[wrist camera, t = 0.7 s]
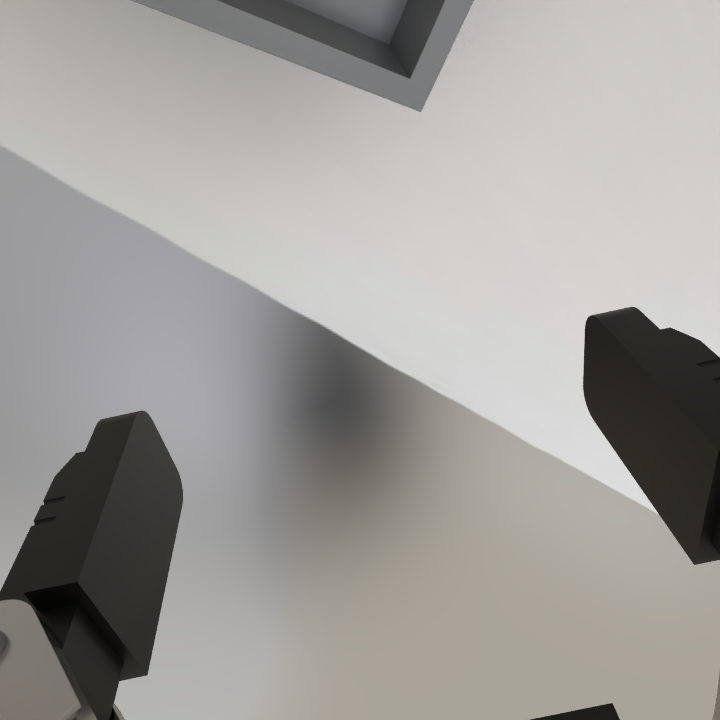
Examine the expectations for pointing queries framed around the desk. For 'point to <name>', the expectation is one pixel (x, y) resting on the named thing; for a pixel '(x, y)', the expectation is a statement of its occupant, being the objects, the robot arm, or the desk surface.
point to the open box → (341, 37)
